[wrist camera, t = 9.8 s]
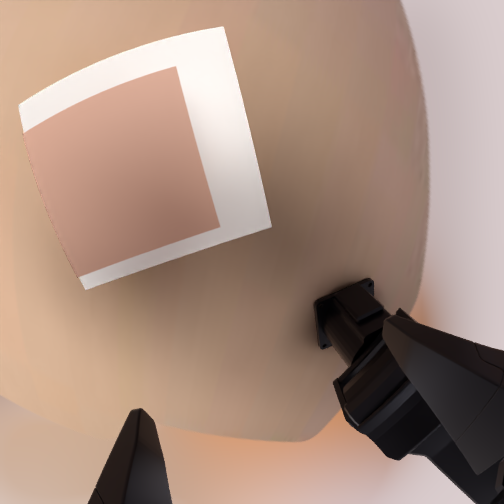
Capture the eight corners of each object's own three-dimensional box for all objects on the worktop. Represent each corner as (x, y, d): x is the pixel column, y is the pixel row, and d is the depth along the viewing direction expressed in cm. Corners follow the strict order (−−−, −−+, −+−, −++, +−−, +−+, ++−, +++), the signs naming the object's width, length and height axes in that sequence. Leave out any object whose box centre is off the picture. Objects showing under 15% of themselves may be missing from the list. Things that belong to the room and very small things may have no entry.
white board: (265, 220, 21) (271, 227, 19) (90, 279, 19) (85, 290, 17) (219, 33, 14) (223, 26, 13) (28, 106, 12) (18, 105, 11)
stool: (175, 93, 14) (176, 65, 8) (202, 191, 17) (220, 227, 11) (77, 131, 13) (22, 133, 7) (108, 224, 16) (77, 277, 10)
